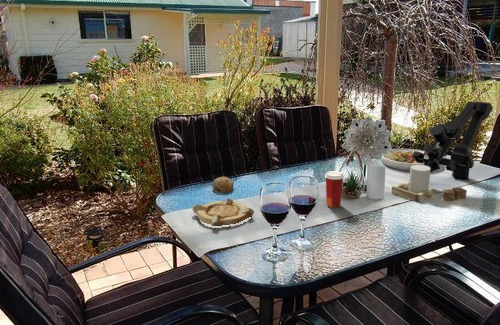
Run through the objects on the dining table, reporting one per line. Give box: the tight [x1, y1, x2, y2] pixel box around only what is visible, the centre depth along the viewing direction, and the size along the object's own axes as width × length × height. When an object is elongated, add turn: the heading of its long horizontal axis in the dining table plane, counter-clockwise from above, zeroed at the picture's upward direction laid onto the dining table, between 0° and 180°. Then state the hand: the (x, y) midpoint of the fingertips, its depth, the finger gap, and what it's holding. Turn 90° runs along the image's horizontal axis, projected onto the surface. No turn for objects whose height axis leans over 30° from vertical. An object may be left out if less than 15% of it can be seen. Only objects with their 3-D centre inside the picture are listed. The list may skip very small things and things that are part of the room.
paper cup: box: [324, 170, 345, 208], centre depth 176 cm, size 8×8×14 cm
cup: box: [408, 165, 431, 194], centre depth 187 cm, size 8×8×12 cm
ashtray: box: [192, 197, 255, 226], centre depth 169 cm, size 24×24×5 cm
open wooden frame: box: [391, 181, 436, 203], centre depth 188 cm, size 12×13×3 cm
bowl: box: [380, 148, 428, 172], centre depth 232 cm, size 30×30×8 cm
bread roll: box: [211, 176, 234, 193], centre depth 199 cm, size 10×10×8 cm
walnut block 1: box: [441, 188, 455, 203], centre depth 181 cm, size 4×4×4 cm
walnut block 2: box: [451, 186, 468, 201], centre depth 183 cm, size 4×4×4 cm
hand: (423, 175), depth 190 cm, fingers closed
